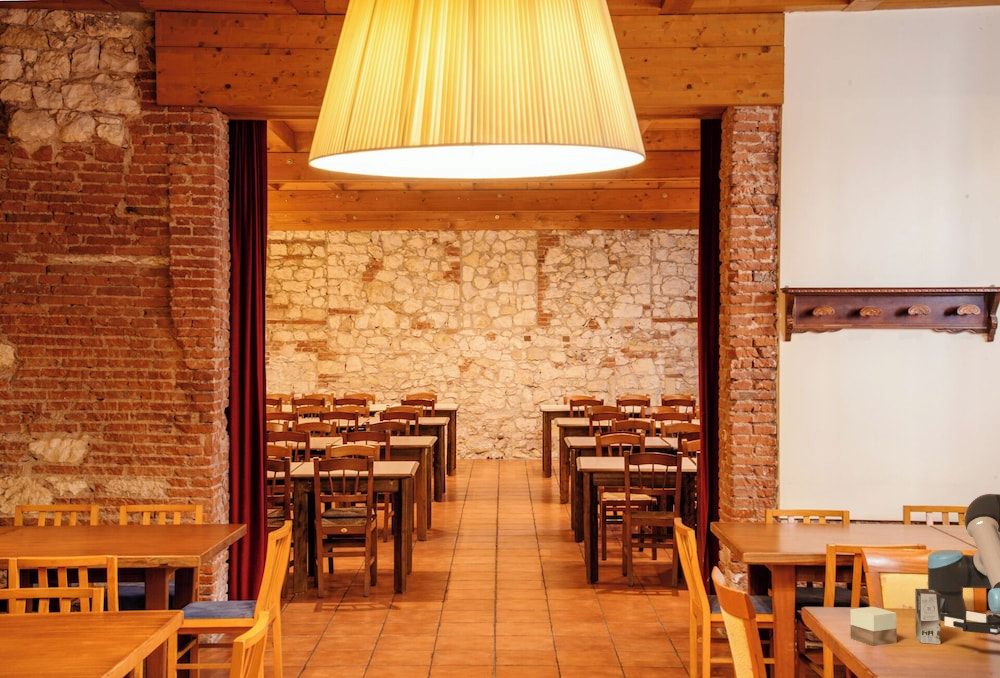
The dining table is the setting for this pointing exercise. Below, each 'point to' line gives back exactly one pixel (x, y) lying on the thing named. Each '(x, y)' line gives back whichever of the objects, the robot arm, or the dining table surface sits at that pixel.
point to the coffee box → (928, 616)
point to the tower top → (873, 618)
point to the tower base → (874, 636)
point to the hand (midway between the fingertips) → (956, 618)
